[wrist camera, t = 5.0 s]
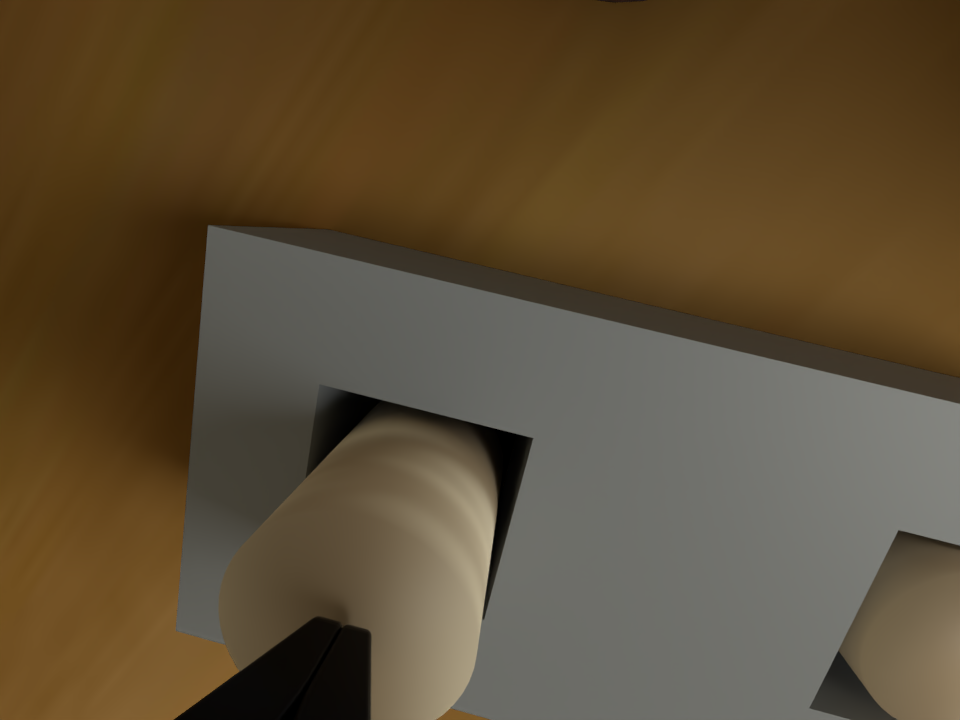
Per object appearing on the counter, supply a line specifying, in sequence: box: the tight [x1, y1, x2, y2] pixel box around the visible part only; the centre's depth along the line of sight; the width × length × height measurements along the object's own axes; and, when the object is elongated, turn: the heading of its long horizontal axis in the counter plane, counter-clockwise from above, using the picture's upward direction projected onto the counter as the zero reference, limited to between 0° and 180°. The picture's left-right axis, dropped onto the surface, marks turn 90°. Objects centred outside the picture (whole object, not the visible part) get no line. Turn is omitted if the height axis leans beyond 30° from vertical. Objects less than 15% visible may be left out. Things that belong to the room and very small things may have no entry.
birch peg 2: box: [838, 530, 960, 720], centre depth 13 cm, size 4×4×6 cm
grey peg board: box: [176, 225, 960, 720], centre depth 14 cm, size 22×10×6 cm, turn 77°
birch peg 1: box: [218, 400, 503, 720], centre depth 10 cm, size 4×4×6 cm
